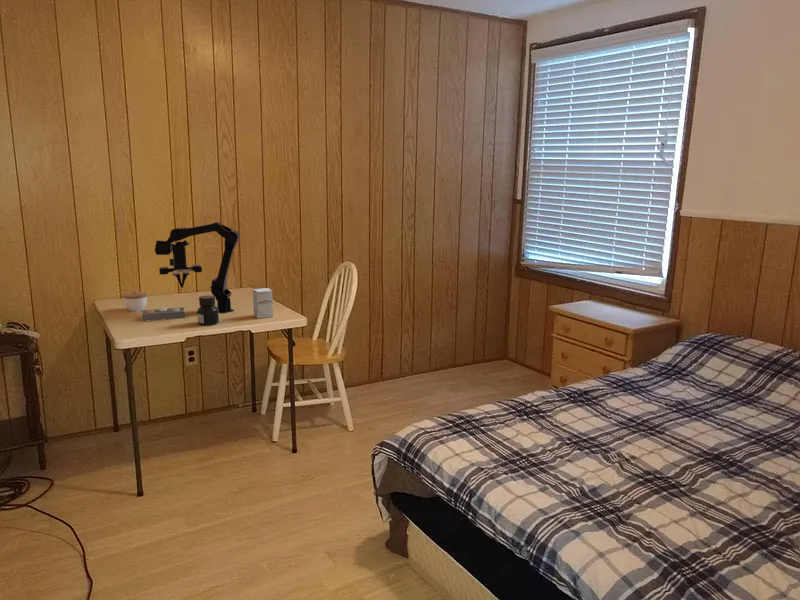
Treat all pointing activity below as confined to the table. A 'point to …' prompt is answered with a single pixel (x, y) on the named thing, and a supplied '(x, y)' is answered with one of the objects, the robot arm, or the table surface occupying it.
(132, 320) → the table surface
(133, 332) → the table surface
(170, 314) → the button panel
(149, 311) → the terracotta button
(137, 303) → the lidded jar
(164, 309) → the cream button
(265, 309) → the supplement box
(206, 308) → the ink bottle
